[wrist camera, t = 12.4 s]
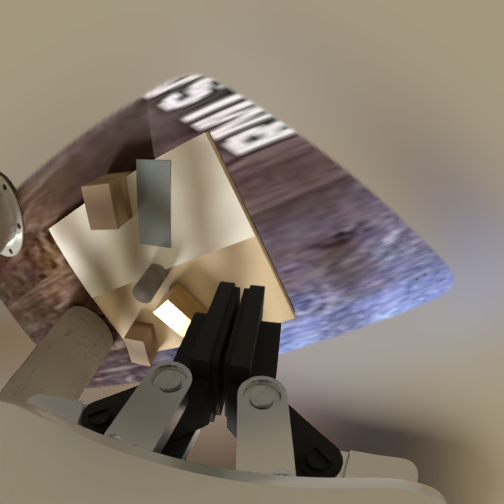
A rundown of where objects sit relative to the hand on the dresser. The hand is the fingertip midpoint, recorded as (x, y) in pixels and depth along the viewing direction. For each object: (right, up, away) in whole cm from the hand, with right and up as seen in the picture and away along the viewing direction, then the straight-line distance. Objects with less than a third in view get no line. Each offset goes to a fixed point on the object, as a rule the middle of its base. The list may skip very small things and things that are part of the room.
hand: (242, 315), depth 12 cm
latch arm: (-5, -4, +18) cm, 19 cm away
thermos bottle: (-22, -8, +25) cm, 34 cm away
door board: (-9, +1, +18) cm, 20 cm away
